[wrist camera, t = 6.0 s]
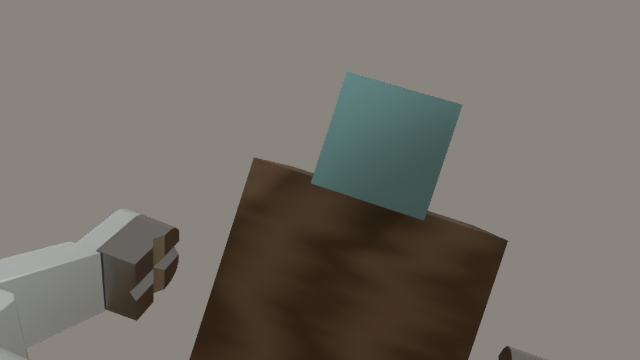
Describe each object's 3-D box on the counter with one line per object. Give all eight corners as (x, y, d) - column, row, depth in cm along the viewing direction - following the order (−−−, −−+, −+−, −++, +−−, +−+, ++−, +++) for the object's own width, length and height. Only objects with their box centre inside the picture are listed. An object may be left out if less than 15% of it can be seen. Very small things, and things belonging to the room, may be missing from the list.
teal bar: (424, 220, 15) (462, 104, 15) (310, 182, 16) (346, 71, 16) (404, 201, 39) (419, 156, 39) (359, 187, 40) (373, 142, 40)
